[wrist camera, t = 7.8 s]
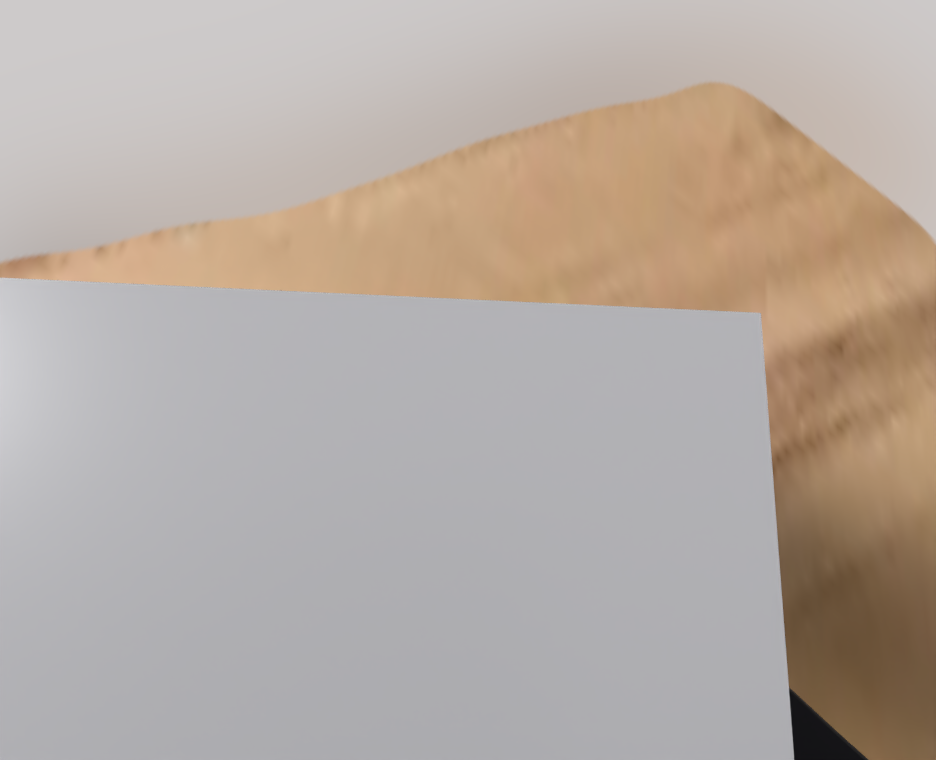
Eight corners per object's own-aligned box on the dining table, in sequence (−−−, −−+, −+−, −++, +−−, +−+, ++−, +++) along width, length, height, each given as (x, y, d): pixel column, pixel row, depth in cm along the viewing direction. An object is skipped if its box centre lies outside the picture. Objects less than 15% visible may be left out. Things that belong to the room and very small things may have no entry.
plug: (468, 589, 15) (832, 1257, 3) (298, 594, 15) (-331, 1515, 2) (469, 425, 16) (760, 314, 3) (307, 423, 15) (-120, 271, 3)
